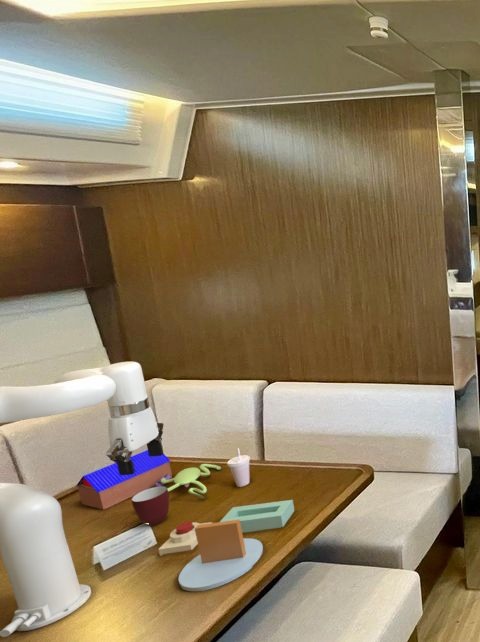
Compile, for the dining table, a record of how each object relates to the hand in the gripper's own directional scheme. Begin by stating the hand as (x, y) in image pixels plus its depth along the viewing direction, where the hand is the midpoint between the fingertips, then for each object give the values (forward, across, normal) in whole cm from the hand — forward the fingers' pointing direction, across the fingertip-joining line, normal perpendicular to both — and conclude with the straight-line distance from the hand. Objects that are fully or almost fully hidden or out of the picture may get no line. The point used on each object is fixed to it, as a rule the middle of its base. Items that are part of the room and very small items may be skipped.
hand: (142, 464), depth 125 cm
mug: (+27, -15, -12) cm, 34 cm away
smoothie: (+27, -32, +4) cm, 43 cm away
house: (+27, -36, -34) cm, 57 cm away
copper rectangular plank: (+26, +9, +22) cm, 35 cm away
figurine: (+27, -32, -15) cm, 44 cm away
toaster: (+27, -7, +22) cm, 36 cm away
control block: (+27, -2, +5) cm, 28 cm away
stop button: (+24, -2, +5) cm, 24 cm away
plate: (+27, +10, +22) cm, 36 cm away
